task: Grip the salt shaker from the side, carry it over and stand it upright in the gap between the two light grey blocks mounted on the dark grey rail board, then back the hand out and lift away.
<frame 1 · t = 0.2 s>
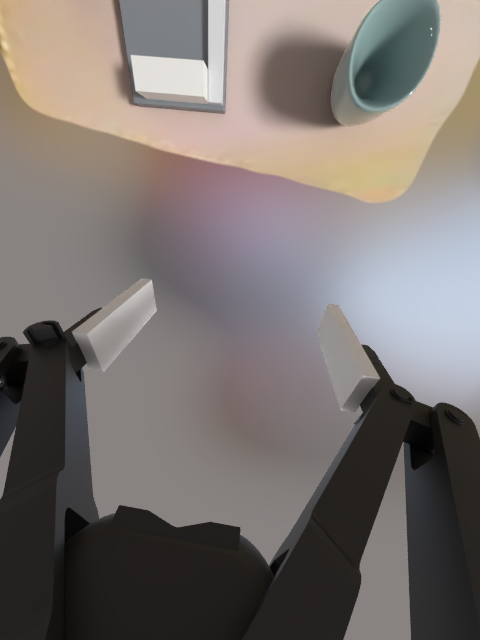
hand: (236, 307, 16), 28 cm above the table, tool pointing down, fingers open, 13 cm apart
rail board: (177, 21, 26), on the table
cup: (353, 94, 28), on the table
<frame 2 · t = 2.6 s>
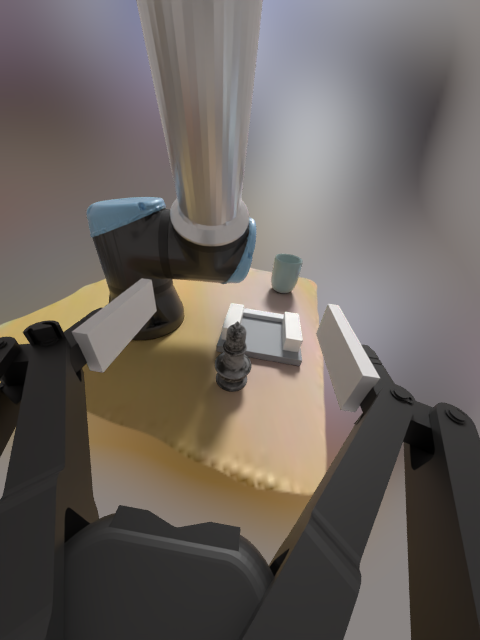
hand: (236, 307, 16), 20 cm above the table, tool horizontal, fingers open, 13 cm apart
salt shaker: (231, 378, 35), on the table
rail board: (259, 336, 44), on the table
cup: (281, 290, 63), on the table
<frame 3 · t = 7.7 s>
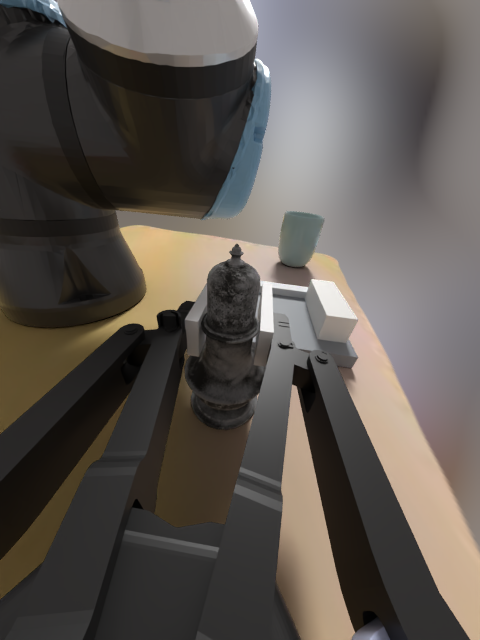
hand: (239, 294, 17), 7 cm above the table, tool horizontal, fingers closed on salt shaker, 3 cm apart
salt shaker: (224, 398, 17), on the table, touching gripper
rail board: (271, 320, 26), on the table
cup: (292, 264, 46), on the table
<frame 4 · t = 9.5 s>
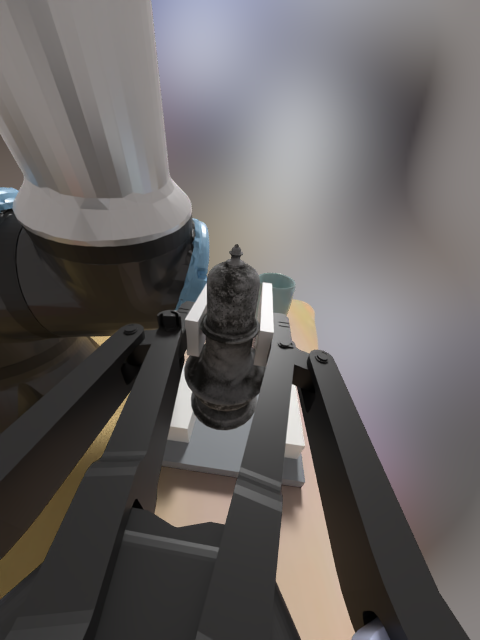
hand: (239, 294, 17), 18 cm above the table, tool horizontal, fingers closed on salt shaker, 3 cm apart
salt shaker: (224, 398, 17), point 11 cm above the table, touching gripper
rail board: (233, 417, 27), on the table
cup: (267, 321, 47), on the table
when the fingers open (9 cm above the table, at t = 11.7 s): salt shaker drops 1 cm, resting on rail board.
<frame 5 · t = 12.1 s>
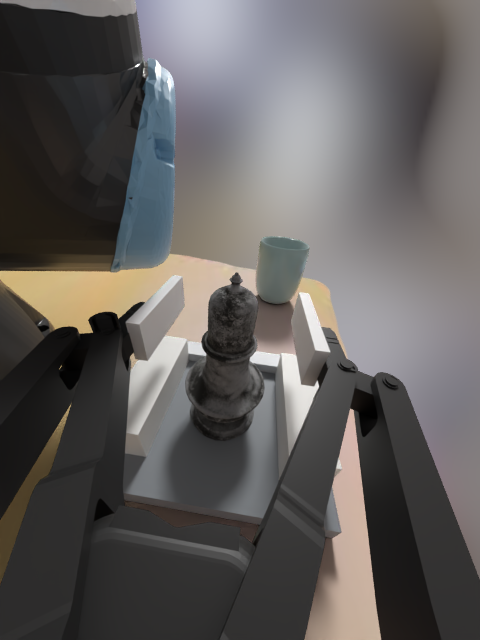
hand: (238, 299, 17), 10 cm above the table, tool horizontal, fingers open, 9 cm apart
salt shaker: (222, 409, 17), point 1 cm above the table, touching rail board
rail board: (223, 416, 18), on the table
cup: (273, 299, 38), on the table
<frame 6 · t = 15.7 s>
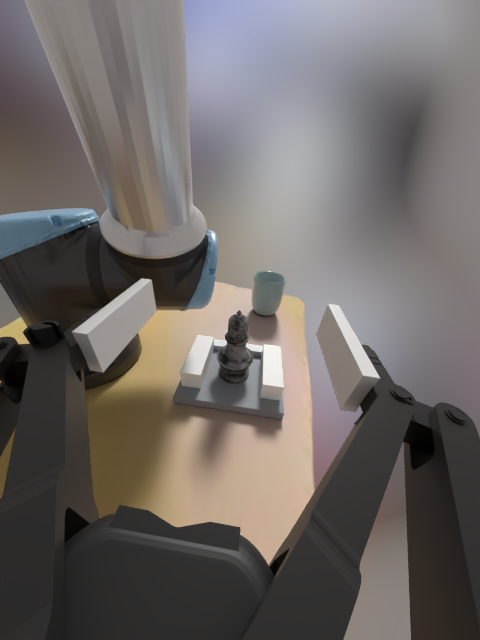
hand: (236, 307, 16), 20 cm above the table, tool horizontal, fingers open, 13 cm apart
salt shaker: (233, 372, 35), point 1 cm above the table, touching rail board
rail board: (233, 376, 35), on the table
cup: (263, 312, 55), on the table
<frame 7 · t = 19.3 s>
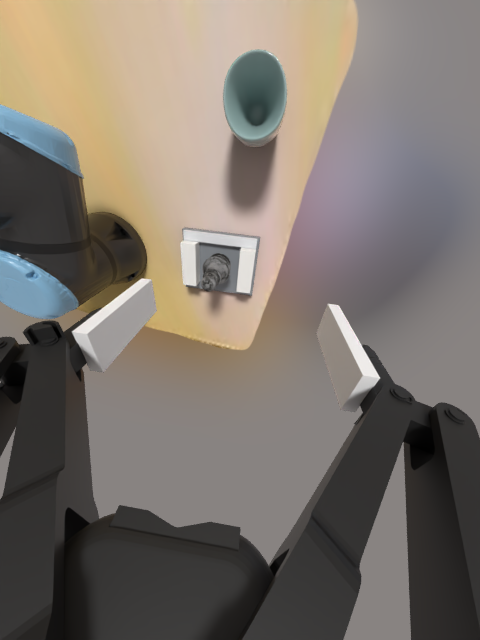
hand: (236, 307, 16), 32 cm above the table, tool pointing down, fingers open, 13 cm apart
salt shaker: (219, 264, 45), point 1 cm above the table, touching rail board
rail board: (221, 262, 46), on the table
cup: (257, 119, 33), on the table
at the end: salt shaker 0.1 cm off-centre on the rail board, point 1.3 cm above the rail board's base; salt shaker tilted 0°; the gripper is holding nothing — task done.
